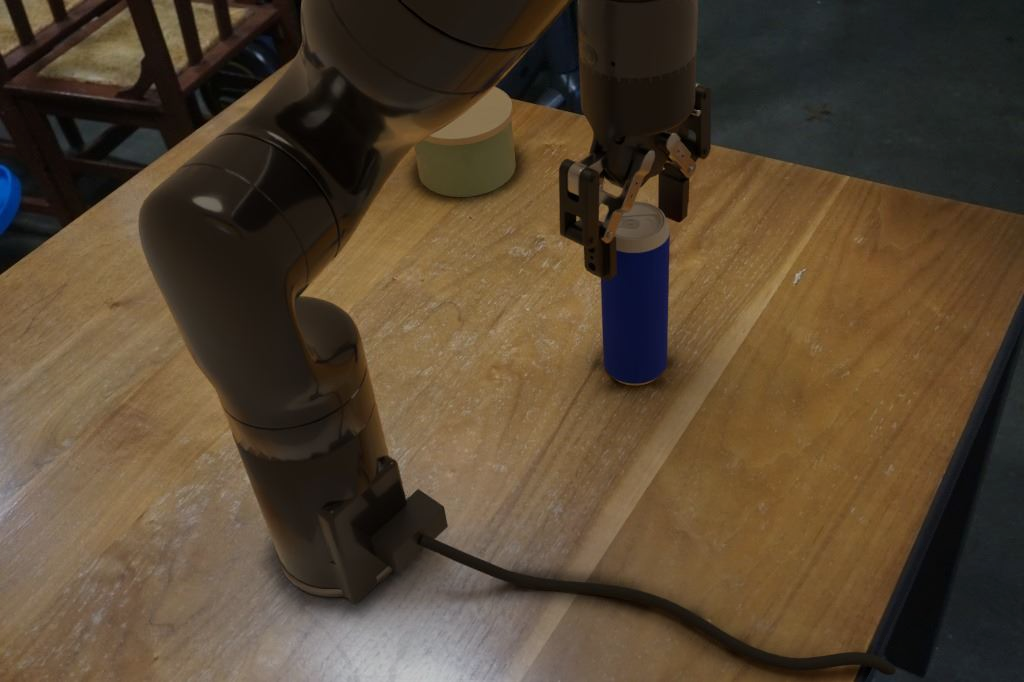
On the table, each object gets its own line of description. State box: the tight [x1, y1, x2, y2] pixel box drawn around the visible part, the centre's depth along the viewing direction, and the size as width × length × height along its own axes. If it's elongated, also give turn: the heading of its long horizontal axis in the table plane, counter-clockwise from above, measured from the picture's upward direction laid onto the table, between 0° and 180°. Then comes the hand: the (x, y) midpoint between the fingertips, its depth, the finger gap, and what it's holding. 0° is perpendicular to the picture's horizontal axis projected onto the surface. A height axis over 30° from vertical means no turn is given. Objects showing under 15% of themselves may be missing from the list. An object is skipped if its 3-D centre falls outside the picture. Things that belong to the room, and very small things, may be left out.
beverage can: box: [600, 201, 671, 387], centre depth 85 cm, size 5×5×15 cm
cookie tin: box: [413, 86, 517, 198], centre depth 111 cm, size 10×10×7 cm
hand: (638, 244), depth 81 cm, fingers open, 8 cm apart
